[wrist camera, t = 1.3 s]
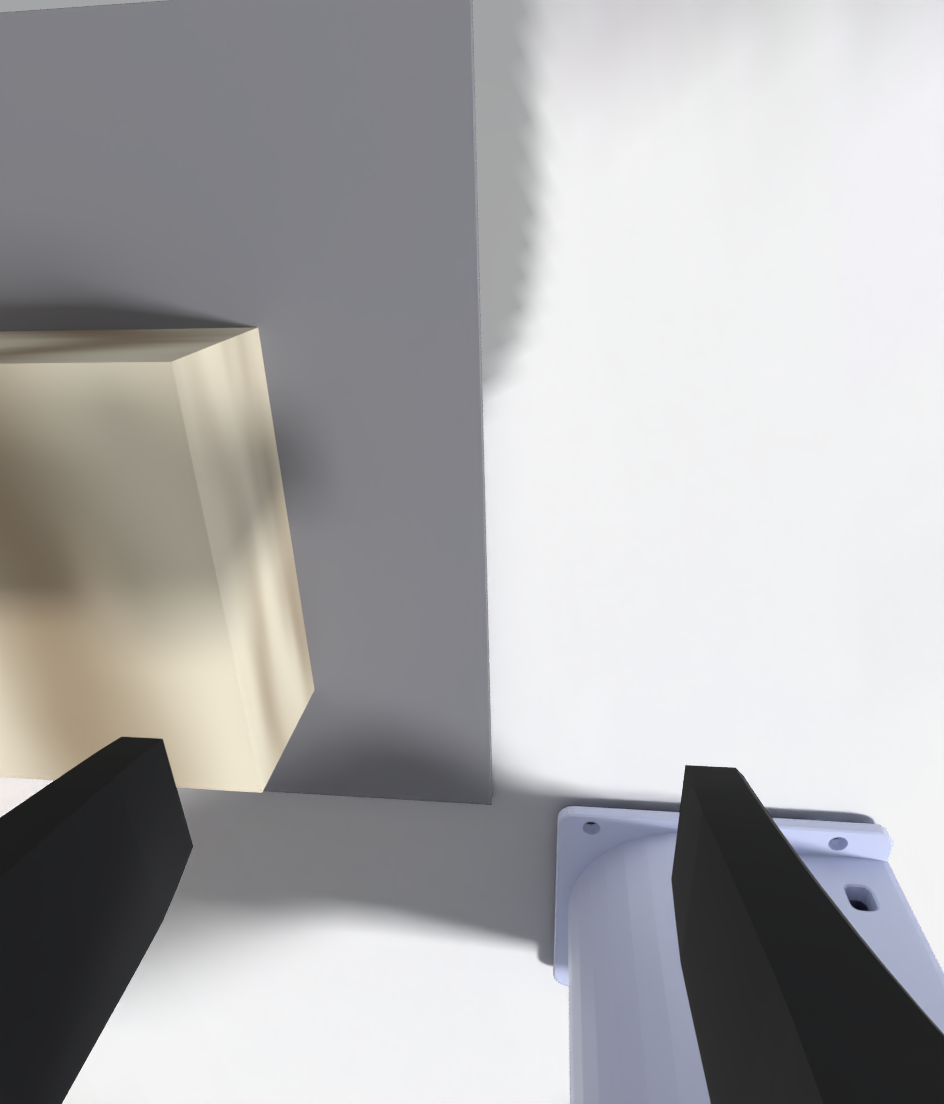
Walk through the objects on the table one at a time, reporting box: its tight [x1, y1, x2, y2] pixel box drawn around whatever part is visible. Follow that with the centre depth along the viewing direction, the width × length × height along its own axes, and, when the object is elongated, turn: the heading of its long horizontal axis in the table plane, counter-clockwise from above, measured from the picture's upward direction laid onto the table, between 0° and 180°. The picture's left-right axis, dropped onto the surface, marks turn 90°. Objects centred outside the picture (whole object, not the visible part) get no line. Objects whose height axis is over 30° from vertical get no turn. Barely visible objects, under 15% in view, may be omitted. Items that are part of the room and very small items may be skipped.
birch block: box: [0, 327, 314, 793], centre depth 17 cm, size 8×10×4 cm
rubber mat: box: [0, 0, 492, 805], centre depth 19 cm, size 25×20×1 cm
